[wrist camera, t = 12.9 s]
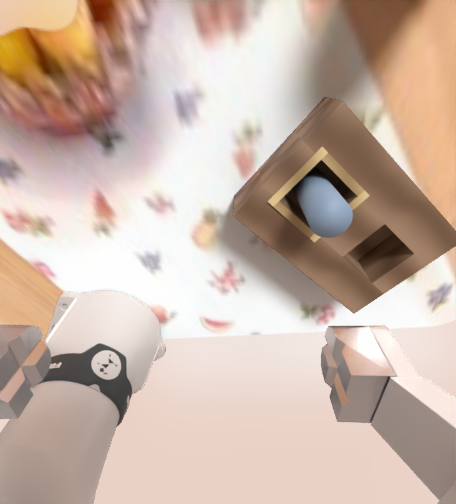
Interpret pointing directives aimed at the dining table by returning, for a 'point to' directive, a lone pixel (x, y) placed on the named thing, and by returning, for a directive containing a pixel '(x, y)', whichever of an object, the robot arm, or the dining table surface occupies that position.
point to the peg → (322, 205)
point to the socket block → (359, 199)
